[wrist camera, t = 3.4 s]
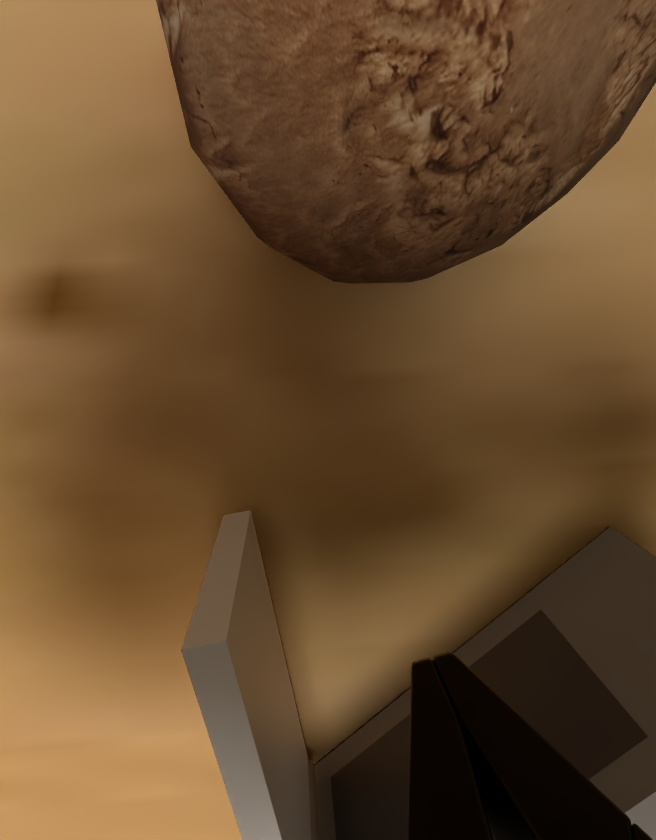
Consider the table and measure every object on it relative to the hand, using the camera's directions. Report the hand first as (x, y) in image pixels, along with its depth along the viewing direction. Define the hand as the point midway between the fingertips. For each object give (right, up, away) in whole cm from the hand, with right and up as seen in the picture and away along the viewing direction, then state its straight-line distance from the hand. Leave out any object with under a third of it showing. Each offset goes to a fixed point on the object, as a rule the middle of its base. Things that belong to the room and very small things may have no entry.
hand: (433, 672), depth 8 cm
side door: (-4, -2, +4) cm, 6 cm away
